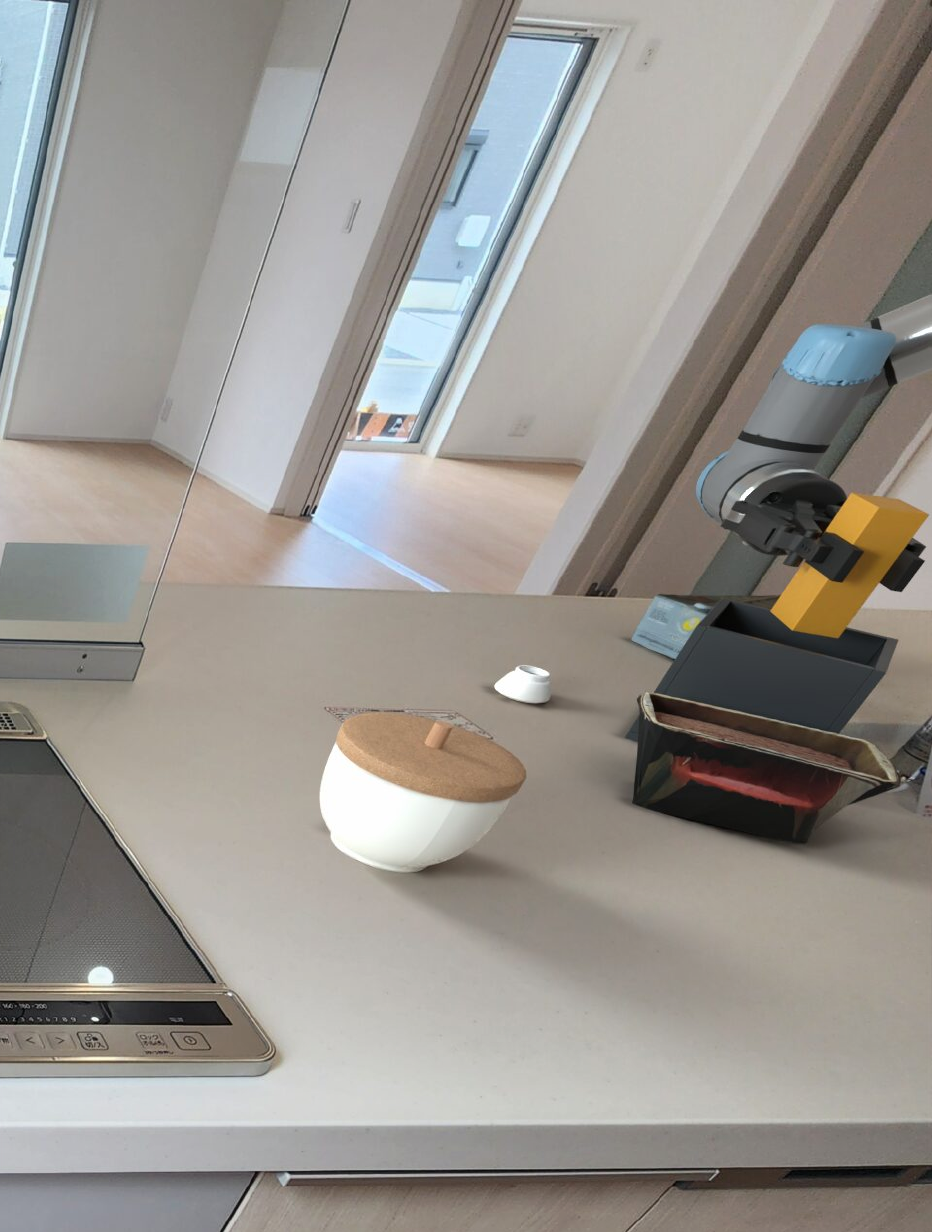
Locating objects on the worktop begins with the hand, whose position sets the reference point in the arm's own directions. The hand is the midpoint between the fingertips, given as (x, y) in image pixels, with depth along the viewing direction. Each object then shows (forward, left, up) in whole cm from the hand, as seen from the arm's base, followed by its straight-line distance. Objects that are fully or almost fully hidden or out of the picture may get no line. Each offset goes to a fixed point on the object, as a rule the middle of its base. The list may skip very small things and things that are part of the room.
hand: (877, 571), depth 92 cm
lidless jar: (+19, -1, -19) cm, 27 cm away
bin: (+2, -5, -19) cm, 20 cm away
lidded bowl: (+17, +47, -19) cm, 54 cm away
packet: (+2, -5, -6) cm, 8 cm away
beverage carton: (+7, -40, -19) cm, 45 cm away
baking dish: (0, +12, -19) cm, 23 cm away
